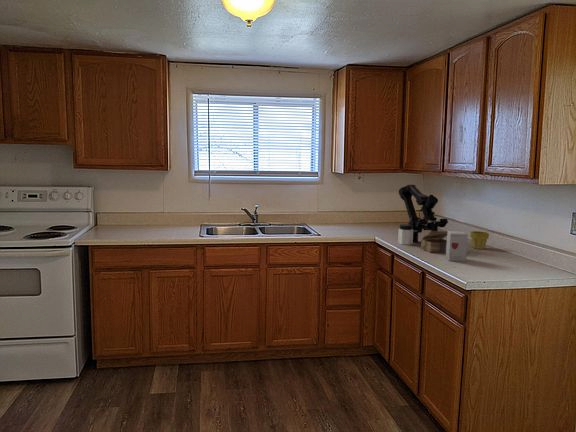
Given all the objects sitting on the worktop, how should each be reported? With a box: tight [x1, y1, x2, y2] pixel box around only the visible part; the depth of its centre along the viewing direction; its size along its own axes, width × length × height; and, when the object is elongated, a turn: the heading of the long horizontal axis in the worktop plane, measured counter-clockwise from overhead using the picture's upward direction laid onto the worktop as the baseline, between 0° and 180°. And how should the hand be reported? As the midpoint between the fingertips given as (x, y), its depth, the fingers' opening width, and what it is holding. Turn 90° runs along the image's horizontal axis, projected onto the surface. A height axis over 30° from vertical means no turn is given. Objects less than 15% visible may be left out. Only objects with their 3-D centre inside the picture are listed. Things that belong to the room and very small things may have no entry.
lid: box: [420, 230, 448, 239], centre depth 285 cm, size 12×14×1 cm
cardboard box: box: [420, 238, 447, 254], centre depth 285 cm, size 12×14×6 cm
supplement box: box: [445, 230, 468, 263], centre depth 261 cm, size 9×9×15 cm
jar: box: [397, 223, 414, 246], centre depth 306 cm, size 9×8×12 cm
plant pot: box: [469, 230, 490, 250], centre depth 295 cm, size 10×10×10 cm
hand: (436, 234), depth 286 cm, fingers closed, pressing on lid
